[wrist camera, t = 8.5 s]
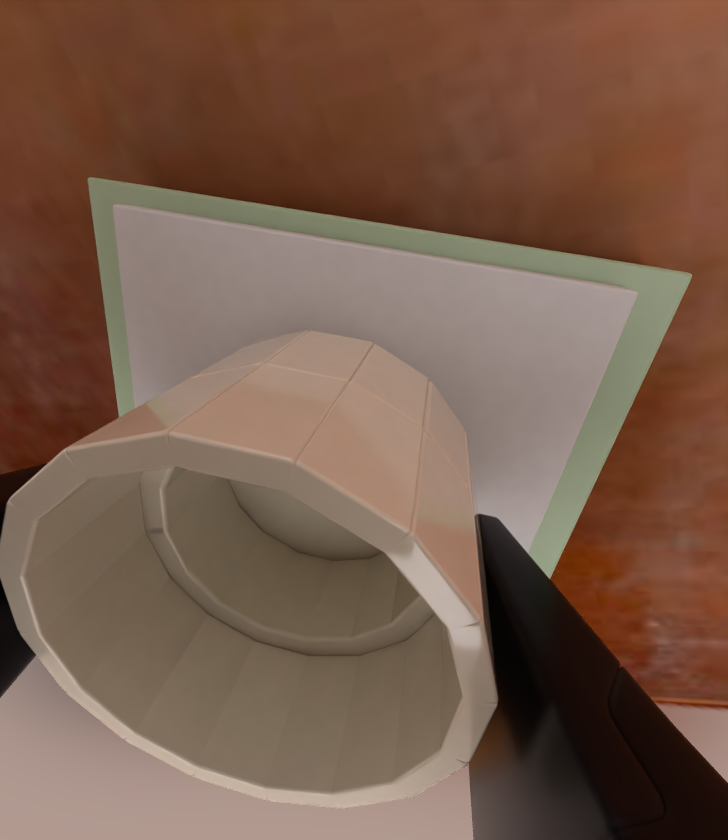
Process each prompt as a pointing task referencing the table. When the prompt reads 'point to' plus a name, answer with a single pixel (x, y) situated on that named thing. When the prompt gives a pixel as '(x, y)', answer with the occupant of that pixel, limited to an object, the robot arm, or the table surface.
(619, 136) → the table surface
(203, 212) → the scale
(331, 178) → the table surface
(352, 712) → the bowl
